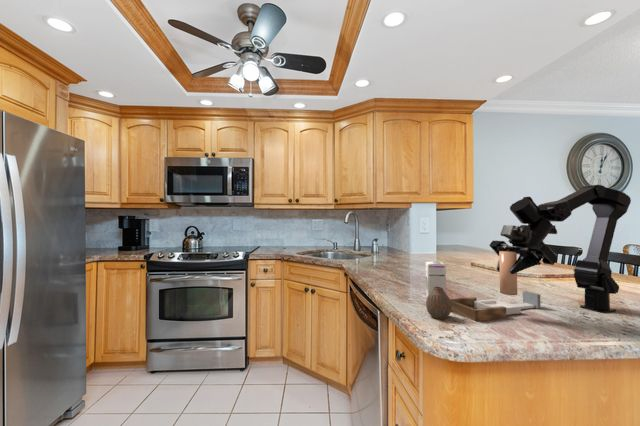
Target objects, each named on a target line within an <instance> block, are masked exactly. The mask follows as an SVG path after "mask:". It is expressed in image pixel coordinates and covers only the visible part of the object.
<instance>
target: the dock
mask: <svg viewBox="0 0 640 426" xmlns="http://www.w3.org/2000/svg"><path fill="white" fill-rule="evenodd" d="M449 299H450V302H451V312H452V313H454V314H457V315H459V316H461V317H464V318H465V319H466V318H467V319H469V320H471V321H474V322H479V321H488V320H496V319H504V318H505V319H506V318H507V315H506V307H503V306H499V307H490V308H480V309H477V308H475V307H474V301H478V299H477V297H475V296H472V297H471V296H470V297H469V296H468V297H459V298H458V297H457V298H449Z"/></svg>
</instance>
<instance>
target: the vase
mask: <svg viewBox="0 0 640 426" xmlns="http://www.w3.org/2000/svg"><path fill="white" fill-rule="evenodd" d="M450 299H451V298H450V297H449V296H448V294H447V292H446V293H445V292H444V290H443V288H442V287H434V288H433V290H432V291H431V293H430V294H429V295H428V297H427V300H426V299H425V306H426V310H427V313H428V314H429V316H431V318H433V319H437V320H446V319H447V318H448V317H449V316H450V314H451V312H452V311H451V302H450Z"/></svg>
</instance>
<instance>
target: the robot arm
mask: <svg viewBox="0 0 640 426" xmlns="http://www.w3.org/2000/svg"><path fill="white" fill-rule="evenodd" d="M631 201H632V198H631V197H630V196H629V195H628V194H627V193H625V192H623V191H620V190H618V189H615V188H609V187H606V186H604V185H603V184H592V185H591V184H590V185H585V186H582V187H581V188H580V189H578V190H576V191H574V192H573V193H570V194H568V195H566V196H565V197H562V198H560V199H558V200H553V201H548V202H544V203H541V204H538V205H537V203H535V201H534V200H533V198H532V197H531V196H523V198H521V199H519V200H517V201H515V202H514V203H511V205H510V206H509V210H510V211H511V213H512V214H513V215H514V216H515V217H516V218H517V220H518V221H519V222H520V223H521V225H512V224H511V225H510V224H508V225H503V226H502V229H501V231H500V236H502V237H505V238H507V239H508V243H509V244H511V245H508V244H507V242H506V241H504V240H492V241H491V242H490V244H489V247H490V248H491V249H492V250H493V251H494V253H495V254H496V255H497V256H498V257H499V251H512V252H517V255H519V256H518V257H517V261H516V262H515V264H514V265H513V266H512V268H511V270H510V273H511V274H514V273H517V274H518V273H519V272H522V271H524V270H526V269H529V268H532V267H536V266H541V262H540V261H542V263H543V264H544V265H550V266H554V265H555V264H556V263H557V261H558V256H557V254H556V253H555V252H554V251H553V250H552V248H551V247H550V246H549V245H548V244H546V243H545V242H544V241H545V239H546V237H547V236H549V235H557V234H558V230H557V228H556V225H555V224H554V225H553V223H552V222H564V221H565V220H567V219H569V217H570V216H571V215H572V212H573V211H574V210H576V209H578V208H580V207H582V206H584V205H585V204H590V205H591V206H592V207H591V208H592V211H593V213H594V214H595V216H596V217H595V222H594V226H593V229H592V233H591V237H590V241H589V245H588V249H587V252H586V253H587V254H586V257H584V258H583V259H577V260H576V261H575V266H574V269H573V278H574V280H575V283H576V287H577V288H579V289H584V304H580V305H579V308H583V309H587V310H592V311H594V312H595V311H596V312H598V313H603V314H604V313H610V312H611V313H612V312H616V311H617V308H616V309H615V308H612V307H611V298H610V297H611V296H610V294H612V295H613V294H615V295H617V294H618V293H619V290H620V285H619V284H618V283H617V282H616V281H615V279H614V278H613V277H612V272H613V271H612V269H611V267H610V265H609V263H608V258H609V255H610V251H611V247H612V243H613V239H614V235H615V230H616V226H617V224H618V220H619V219H621V218H622V217H623V216H625V214H627V212H628V210H629V207H630V204H631ZM496 270H497V272H500V268H499V260H498V261H497V265H496Z"/></svg>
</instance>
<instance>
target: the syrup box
mask: <svg viewBox="0 0 640 426" xmlns="http://www.w3.org/2000/svg"><path fill="white" fill-rule="evenodd" d="M446 268H447V267H446V264H445V263H443V262H441V261H425V297H426V298H425V301H426V300H427V297H428V295H429V294H430V293H431V291H432V290H433V288H434V287H442V288H443V290H444V292H445V293H446V294H447V278H446V277H447V275H446V272H447V271H446Z"/></svg>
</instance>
